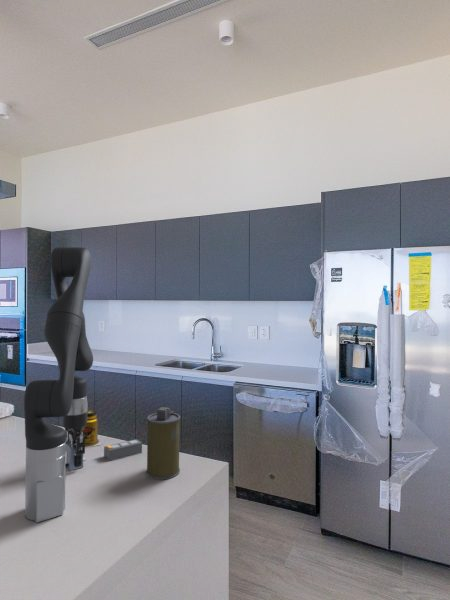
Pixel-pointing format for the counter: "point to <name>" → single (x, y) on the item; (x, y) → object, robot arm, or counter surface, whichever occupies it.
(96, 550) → the counter surface
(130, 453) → the strip
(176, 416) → the canister
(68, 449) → the block
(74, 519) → the counter surface
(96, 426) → the condiment
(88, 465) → the counter surface
